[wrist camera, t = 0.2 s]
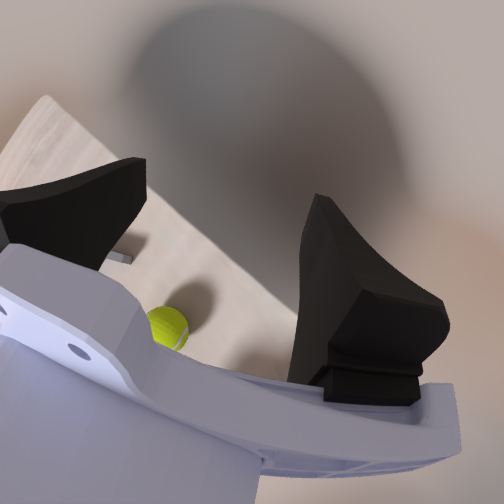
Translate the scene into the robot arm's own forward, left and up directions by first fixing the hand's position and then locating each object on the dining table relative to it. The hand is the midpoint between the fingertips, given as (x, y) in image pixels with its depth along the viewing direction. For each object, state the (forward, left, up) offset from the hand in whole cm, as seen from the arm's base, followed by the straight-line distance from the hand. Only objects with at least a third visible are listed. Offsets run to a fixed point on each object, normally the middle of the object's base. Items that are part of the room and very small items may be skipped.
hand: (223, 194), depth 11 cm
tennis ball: (-12, +8, -31) cm, 34 cm away
